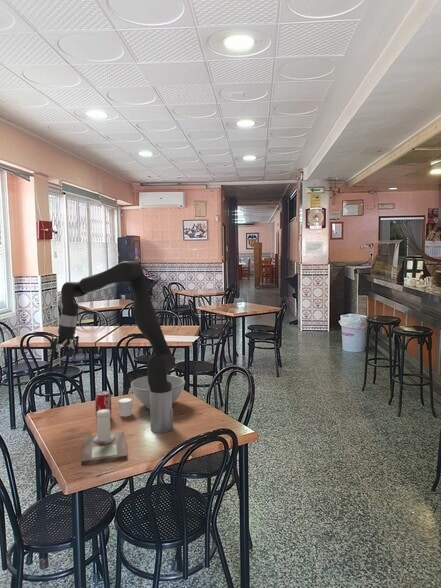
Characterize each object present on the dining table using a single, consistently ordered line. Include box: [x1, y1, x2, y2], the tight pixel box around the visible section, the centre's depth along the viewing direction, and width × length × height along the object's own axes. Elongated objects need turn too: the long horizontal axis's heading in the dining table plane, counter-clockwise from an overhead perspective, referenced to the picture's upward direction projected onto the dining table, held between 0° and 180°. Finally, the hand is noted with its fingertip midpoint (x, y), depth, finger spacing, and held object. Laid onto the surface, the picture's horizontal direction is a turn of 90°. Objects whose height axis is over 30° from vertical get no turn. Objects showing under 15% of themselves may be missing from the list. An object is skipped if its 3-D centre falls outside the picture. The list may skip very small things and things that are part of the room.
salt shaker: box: [96, 409, 111, 441], centre depth 169 cm, size 5×5×11 cm
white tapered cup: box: [117, 397, 134, 418], centre depth 201 cm, size 7×7×7 cm
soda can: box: [94, 390, 112, 419], centre depth 196 cm, size 7×7×12 cm
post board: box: [80, 431, 128, 466], centre depth 164 cm, size 16×22×9 cm
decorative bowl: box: [130, 374, 186, 410], centre depth 213 cm, size 27×27×12 cm
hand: (62, 357), depth 199 cm, fingers open, 8 cm apart
